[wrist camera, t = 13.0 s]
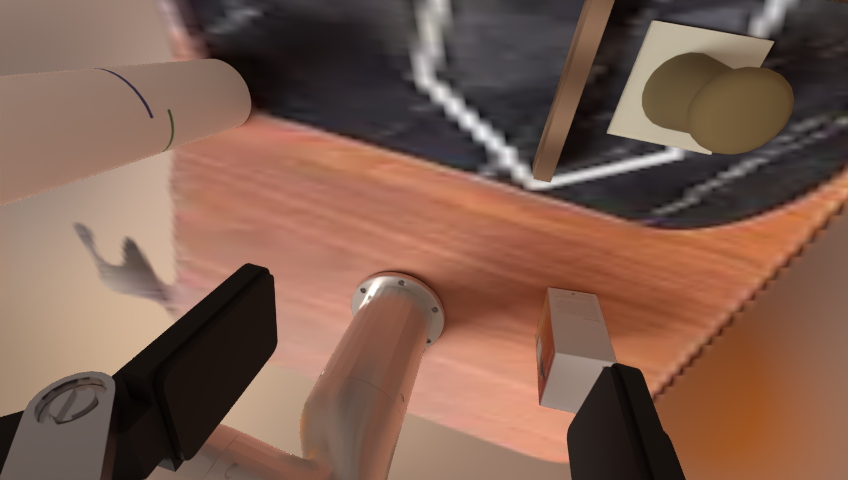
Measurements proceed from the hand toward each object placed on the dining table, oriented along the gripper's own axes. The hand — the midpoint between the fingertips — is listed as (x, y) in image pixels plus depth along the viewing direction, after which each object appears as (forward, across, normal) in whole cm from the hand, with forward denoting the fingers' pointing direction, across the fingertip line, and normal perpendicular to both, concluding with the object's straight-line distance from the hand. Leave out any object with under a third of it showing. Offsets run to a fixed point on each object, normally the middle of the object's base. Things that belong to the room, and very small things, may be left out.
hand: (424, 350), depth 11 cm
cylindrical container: (+31, +29, +3) cm, 42 cm away
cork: (+30, -15, -6) cm, 34 cm away
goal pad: (+30, -15, -6) cm, 34 cm away
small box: (+31, -14, +20) cm, 39 cm away
